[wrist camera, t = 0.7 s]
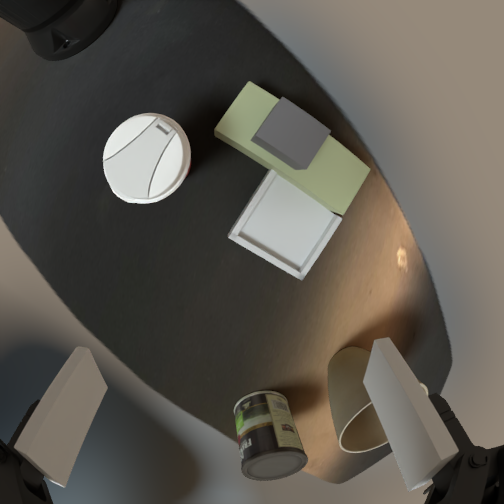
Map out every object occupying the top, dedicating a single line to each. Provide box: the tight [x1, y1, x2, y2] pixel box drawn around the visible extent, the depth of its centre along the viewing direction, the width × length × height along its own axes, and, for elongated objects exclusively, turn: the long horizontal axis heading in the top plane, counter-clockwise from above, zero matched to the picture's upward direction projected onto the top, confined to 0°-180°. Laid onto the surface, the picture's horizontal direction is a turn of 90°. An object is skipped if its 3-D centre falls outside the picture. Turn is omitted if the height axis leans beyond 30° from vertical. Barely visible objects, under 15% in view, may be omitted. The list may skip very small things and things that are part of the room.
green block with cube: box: [214, 81, 371, 280], centre depth 31 cm, size 20×17×9 cm
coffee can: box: [234, 391, 308, 481], centre depth 39 cm, size 10×10×14 cm
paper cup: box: [103, 113, 191, 204], centre depth 26 cm, size 8×8×14 cm
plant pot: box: [328, 347, 428, 453], centre depth 37 cm, size 15×15×16 cm
